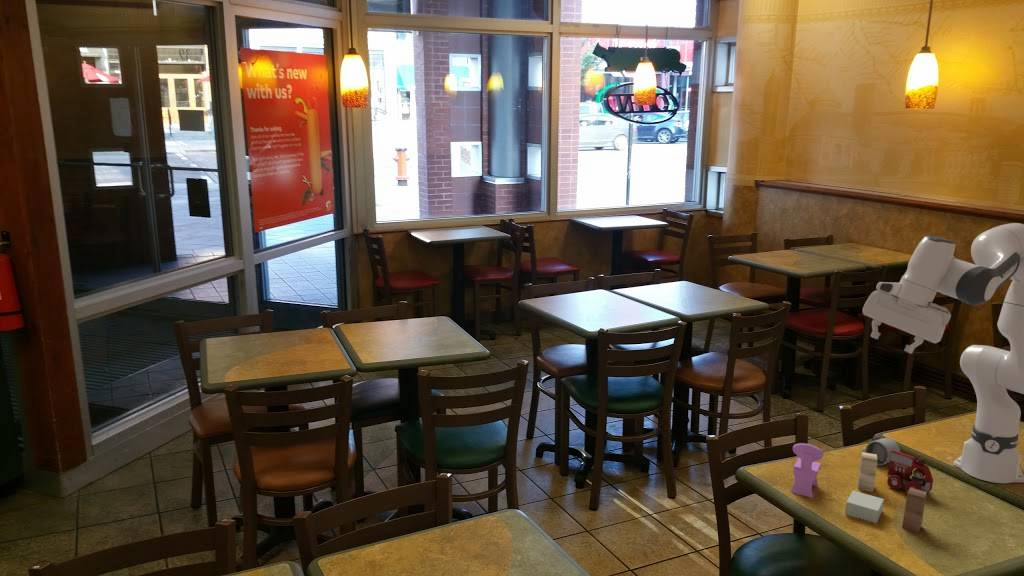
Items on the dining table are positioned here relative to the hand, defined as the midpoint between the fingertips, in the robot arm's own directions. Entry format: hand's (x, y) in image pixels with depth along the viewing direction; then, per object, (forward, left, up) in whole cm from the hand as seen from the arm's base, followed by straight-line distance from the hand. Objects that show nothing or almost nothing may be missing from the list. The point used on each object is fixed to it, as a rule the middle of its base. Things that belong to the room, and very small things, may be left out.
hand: (890, 345), depth 200 cm
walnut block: (0, +11, -48) cm, 50 cm away
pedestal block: (0, -1, -49) cm, 49 cm away
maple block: (-16, -4, -48) cm, 51 cm away
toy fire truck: (-23, +6, -49) cm, 54 cm away
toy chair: (-4, -18, -49) cm, 52 cm away
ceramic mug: (-38, -5, -49) cm, 62 cm away
